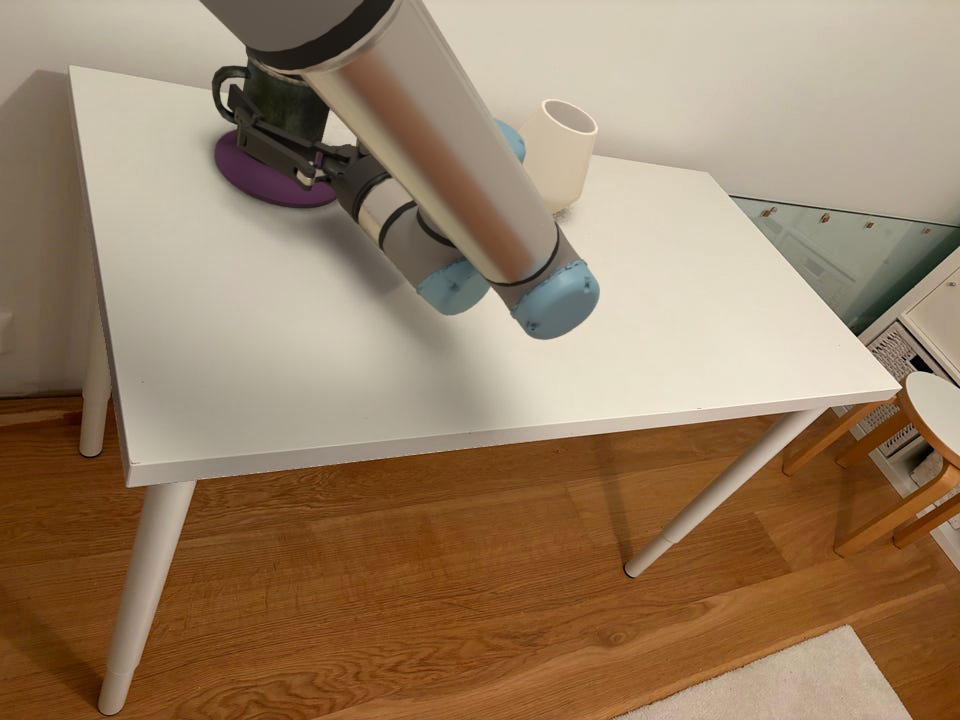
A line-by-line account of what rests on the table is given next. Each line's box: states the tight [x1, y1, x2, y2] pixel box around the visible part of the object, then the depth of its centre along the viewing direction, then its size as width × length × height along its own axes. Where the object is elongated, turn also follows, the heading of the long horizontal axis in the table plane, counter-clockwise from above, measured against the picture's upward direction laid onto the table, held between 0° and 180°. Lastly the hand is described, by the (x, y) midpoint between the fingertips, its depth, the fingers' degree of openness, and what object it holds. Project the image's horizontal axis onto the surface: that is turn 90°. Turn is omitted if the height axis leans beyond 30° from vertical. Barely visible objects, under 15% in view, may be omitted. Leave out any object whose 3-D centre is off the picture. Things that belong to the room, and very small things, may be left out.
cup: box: [516, 98, 599, 216], centre depth 105 cm, size 13×13×14 cm
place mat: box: [214, 128, 337, 209], centre depth 91 cm, size 16×16×1 cm
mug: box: [211, 46, 331, 157], centre depth 88 cm, size 11×15×12 cm
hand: (281, 92), depth 87 cm, fingers closed on mug, 12 cm apart
